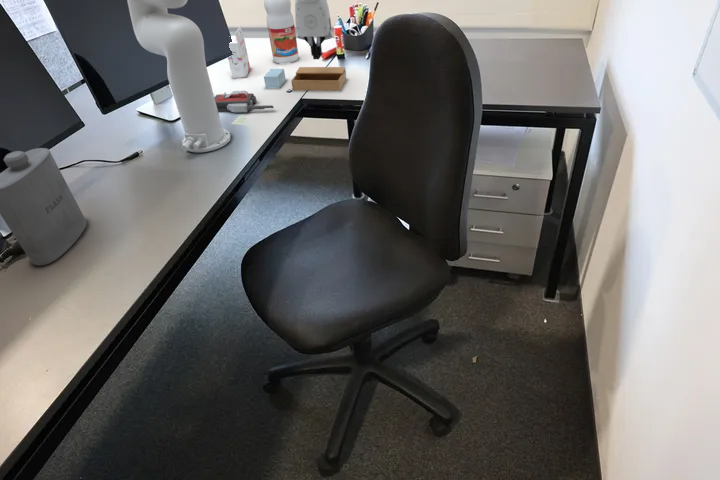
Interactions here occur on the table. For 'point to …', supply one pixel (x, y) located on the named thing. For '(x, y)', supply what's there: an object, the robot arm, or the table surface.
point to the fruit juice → (281, 31)
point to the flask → (39, 205)
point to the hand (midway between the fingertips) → (317, 57)
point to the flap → (320, 70)
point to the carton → (318, 81)
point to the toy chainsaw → (237, 102)
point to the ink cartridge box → (238, 56)
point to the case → (274, 78)
